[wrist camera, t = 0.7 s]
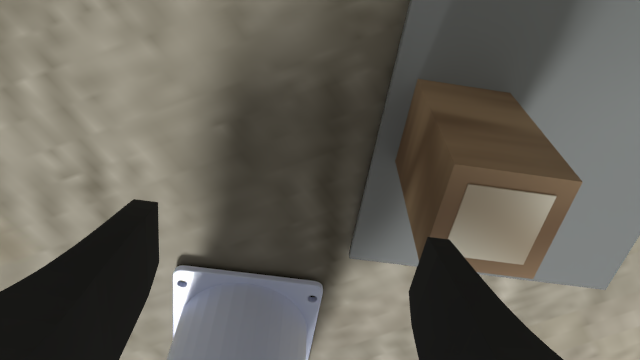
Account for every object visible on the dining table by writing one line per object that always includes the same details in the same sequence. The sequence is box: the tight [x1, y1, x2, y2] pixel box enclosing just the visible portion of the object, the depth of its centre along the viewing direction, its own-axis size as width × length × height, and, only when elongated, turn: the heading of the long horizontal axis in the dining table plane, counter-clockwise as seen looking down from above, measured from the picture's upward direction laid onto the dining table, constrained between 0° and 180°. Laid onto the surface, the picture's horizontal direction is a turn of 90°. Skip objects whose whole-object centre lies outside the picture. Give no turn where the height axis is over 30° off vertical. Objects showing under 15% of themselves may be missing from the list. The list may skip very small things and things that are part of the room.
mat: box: [349, 0, 640, 290], centre depth 23 cm, size 16×14×1 cm
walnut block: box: [395, 79, 583, 279], centre depth 19 cm, size 4×4×7 cm
